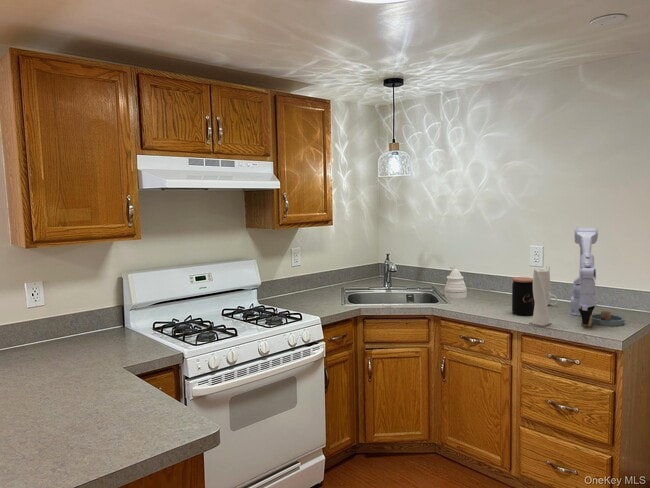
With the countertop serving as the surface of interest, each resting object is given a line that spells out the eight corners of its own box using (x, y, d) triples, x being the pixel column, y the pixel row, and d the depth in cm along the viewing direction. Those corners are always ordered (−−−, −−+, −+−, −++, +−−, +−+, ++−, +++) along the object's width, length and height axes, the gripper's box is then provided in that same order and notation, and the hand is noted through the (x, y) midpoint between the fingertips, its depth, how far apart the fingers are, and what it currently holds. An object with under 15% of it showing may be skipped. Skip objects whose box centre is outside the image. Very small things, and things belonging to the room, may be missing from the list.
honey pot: (441, 297, 301) (441, 267, 299) (449, 293, 311) (449, 264, 310) (462, 299, 293) (462, 268, 292) (469, 295, 304) (469, 265, 302)
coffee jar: (524, 317, 248) (524, 281, 246) (507, 313, 257) (507, 278, 255) (539, 314, 253) (539, 279, 251) (522, 310, 262) (522, 276, 260)
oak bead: (580, 326, 228) (581, 315, 228) (582, 324, 232) (582, 313, 231) (590, 327, 226) (590, 316, 226) (591, 325, 230) (592, 314, 229)
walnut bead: (600, 323, 231) (600, 312, 230) (601, 321, 234) (601, 310, 233) (610, 324, 228) (610, 313, 228) (611, 322, 232) (611, 311, 231)
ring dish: (587, 323, 232) (587, 318, 232) (591, 317, 244) (591, 312, 244) (622, 327, 224) (622, 322, 224) (624, 320, 236) (624, 315, 236)
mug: (531, 305, 273) (531, 291, 273) (537, 302, 279) (537, 288, 279) (554, 308, 265) (554, 293, 264) (560, 305, 271) (560, 291, 270)
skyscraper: (554, 324, 232) (555, 265, 230) (544, 327, 228) (545, 266, 225) (537, 321, 239) (538, 263, 236) (527, 324, 234) (528, 265, 232)
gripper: (595, 297, 219) (594, 327, 221) (598, 291, 231) (598, 320, 233) (577, 295, 223) (576, 325, 225) (581, 290, 235) (581, 318, 237)
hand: (586, 322), depth 229 cm, fingers open, 5 cm apart
